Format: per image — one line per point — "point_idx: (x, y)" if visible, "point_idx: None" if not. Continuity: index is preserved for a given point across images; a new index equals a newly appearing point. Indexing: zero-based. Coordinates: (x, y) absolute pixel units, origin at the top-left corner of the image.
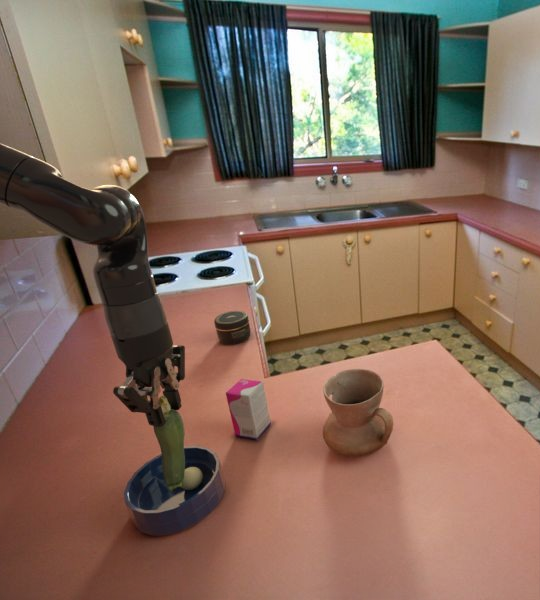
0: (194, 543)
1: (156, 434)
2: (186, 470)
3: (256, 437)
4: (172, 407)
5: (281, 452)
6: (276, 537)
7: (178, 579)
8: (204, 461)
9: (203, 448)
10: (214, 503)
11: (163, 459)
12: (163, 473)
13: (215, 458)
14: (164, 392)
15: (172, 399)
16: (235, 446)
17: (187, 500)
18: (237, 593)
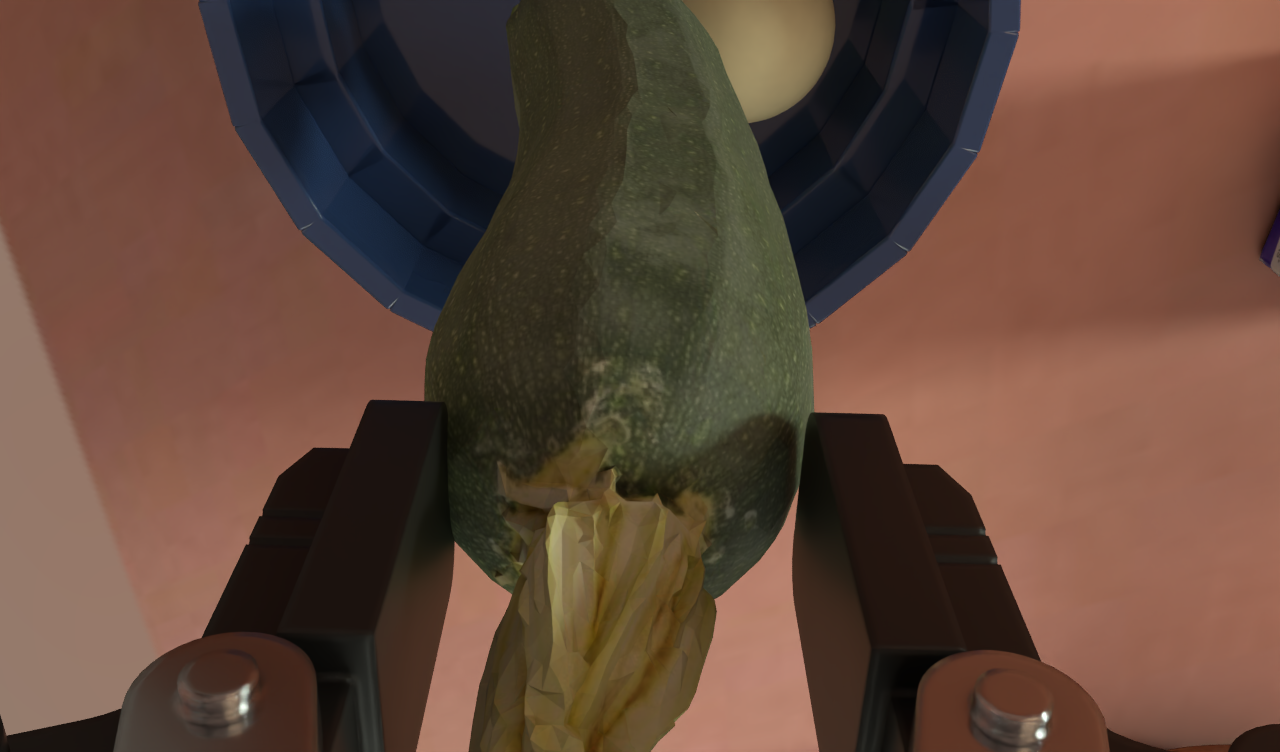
0: (318, 249)
1: (446, 300)
2: (745, 30)
3: (1272, 267)
4: (807, 507)
5: (1096, 473)
6: (446, 648)
7: (98, 280)
8: (915, 68)
9: (977, 102)
10: None
11: (527, 101)
12: (523, 17)
13: (841, 281)
14: (865, 664)
15: (820, 666)
16: (1207, 105)
17: (389, 285)
18: (132, 588)
